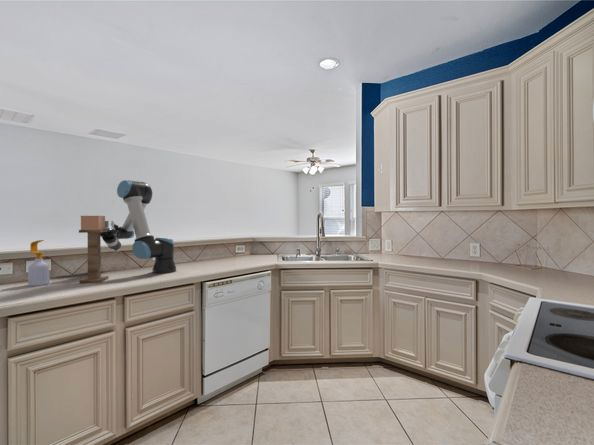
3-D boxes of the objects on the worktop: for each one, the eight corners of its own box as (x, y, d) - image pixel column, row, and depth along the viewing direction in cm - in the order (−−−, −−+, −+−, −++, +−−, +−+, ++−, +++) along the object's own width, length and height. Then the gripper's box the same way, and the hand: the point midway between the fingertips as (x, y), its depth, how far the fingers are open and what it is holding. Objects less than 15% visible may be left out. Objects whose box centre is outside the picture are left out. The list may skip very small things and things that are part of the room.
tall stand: (88, 279, 191) (87, 229, 190) (108, 278, 193) (108, 229, 193) (79, 283, 179) (78, 230, 179) (101, 282, 181) (100, 229, 181)
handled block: (97, 228, 202) (97, 216, 202) (112, 228, 204) (112, 216, 204) (80, 229, 179) (80, 215, 179) (98, 229, 181) (98, 215, 181)
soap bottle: (40, 286, 172) (40, 240, 171) (23, 286, 172) (23, 240, 172) (53, 282, 181) (53, 239, 180) (37, 282, 181) (37, 239, 181)
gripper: (129, 243, 214) (120, 228, 196) (88, 244, 209) (75, 228, 191) (131, 233, 218) (122, 217, 200) (90, 234, 212) (77, 217, 194)
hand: (99, 222), depth 195 cm, fingers open, 13 cm apart
